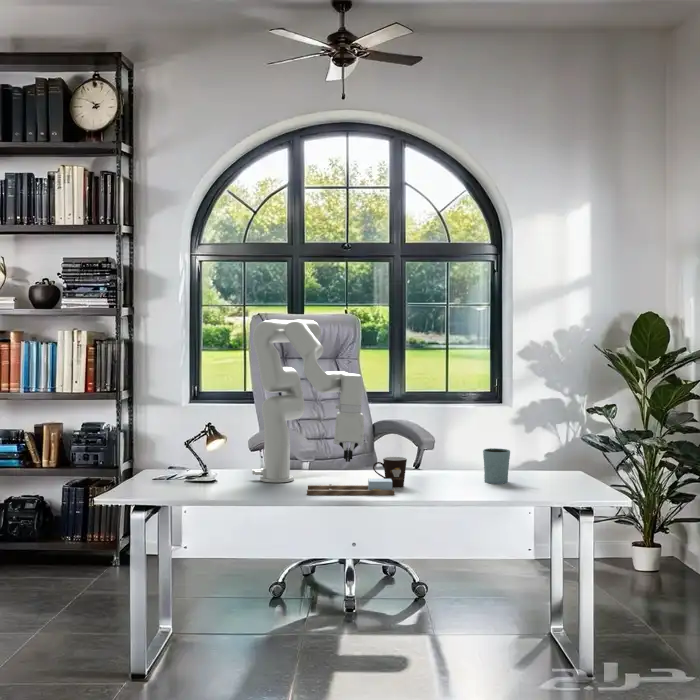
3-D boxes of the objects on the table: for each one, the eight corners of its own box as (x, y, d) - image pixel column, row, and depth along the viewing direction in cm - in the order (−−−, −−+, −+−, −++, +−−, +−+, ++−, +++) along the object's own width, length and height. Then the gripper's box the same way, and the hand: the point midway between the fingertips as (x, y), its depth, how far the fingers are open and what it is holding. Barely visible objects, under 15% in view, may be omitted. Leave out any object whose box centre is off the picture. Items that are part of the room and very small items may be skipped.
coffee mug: (409, 484, 331) (409, 457, 331) (403, 488, 323) (403, 460, 323) (379, 482, 335) (379, 455, 335) (371, 486, 327) (372, 459, 327)
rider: (369, 494, 313) (369, 481, 313) (368, 491, 319) (368, 478, 319) (392, 494, 313) (392, 481, 313) (390, 491, 319) (390, 478, 319)
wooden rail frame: (306, 494, 310) (307, 489, 310) (307, 489, 321) (307, 484, 321) (394, 495, 311) (394, 489, 311) (392, 489, 321) (392, 484, 321)
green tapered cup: (500, 479, 344) (500, 447, 344) (515, 483, 335) (515, 451, 335) (477, 480, 340) (477, 449, 340) (492, 485, 331) (492, 452, 331)
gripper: (328, 409, 311) (326, 462, 312) (372, 411, 311) (369, 464, 313) (328, 406, 319) (326, 458, 320) (371, 408, 319) (368, 460, 320)
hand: (347, 461), depth 316 cm, fingers closed
